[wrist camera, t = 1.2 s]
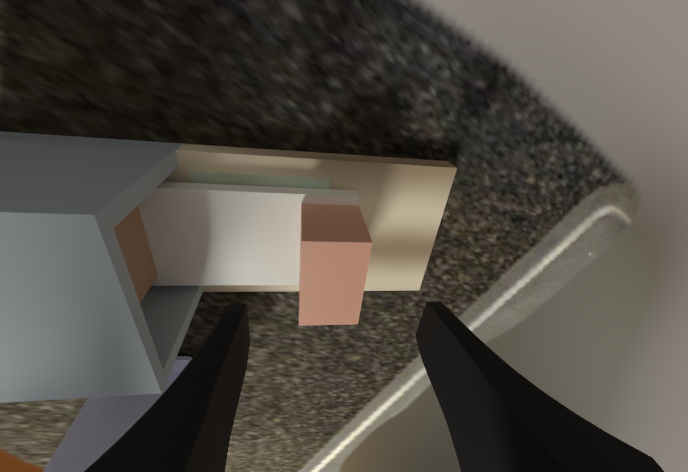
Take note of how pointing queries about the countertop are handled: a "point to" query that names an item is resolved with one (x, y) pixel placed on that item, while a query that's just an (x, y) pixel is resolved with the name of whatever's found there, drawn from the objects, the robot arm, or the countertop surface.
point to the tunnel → (81, 271)
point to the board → (342, 174)
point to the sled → (252, 243)
